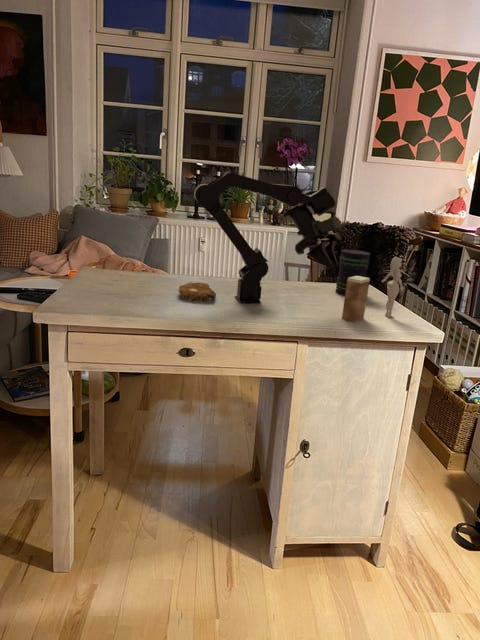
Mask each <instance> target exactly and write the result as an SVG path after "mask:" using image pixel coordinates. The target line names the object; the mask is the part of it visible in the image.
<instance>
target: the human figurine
mask: <svg viewBox="0 0 480 640" xmlns="http://www.w3.org/2000/svg"><path fill="white" fill-rule="evenodd" d="M402 261H403V259H402V258H401V257H398V256H394V257H393V258H391V261H390V264H389V267H390V271H389V273H388V274H386V276H385V278H383V279H382V280H381V283H385V282H386V281H387V280H388V278H389V277H390V276H391V277H393V279H392V280H389V281H388V282H387V283H386V286H387V287H386V291H387V293H386V294H387V301H386V304H385V307H386V312H385V314H384V316H385V317H387V318H390V319H395V316H393V315H392V311H393V308H394V304H395V301H396V298H397V296H398V294H399V293H400V291H401V292H405V289H406V288H405V287H404V286H403V281H402V279H401V277H402V273H401V271H400V270H399V269H400V268H401V267H402Z"/></svg>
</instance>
